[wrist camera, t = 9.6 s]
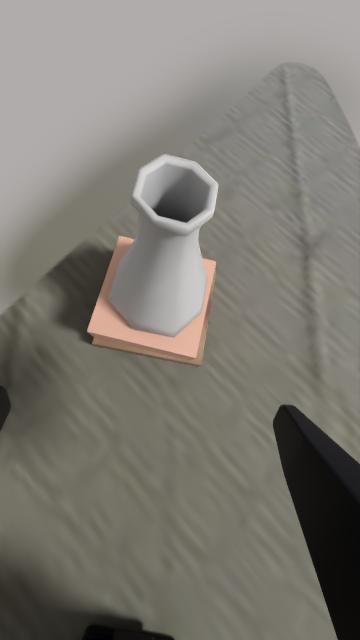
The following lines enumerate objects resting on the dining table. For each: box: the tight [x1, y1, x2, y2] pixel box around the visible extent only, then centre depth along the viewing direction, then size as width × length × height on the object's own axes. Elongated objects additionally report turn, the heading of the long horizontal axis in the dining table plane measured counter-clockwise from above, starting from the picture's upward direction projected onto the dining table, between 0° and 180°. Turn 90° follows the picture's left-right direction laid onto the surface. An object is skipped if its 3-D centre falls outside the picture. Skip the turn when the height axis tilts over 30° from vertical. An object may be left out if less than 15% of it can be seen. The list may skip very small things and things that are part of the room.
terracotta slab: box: [87, 236, 216, 361], centre depth 20 cm, size 8×8×2 cm
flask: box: [108, 153, 219, 338], centre depth 14 cm, size 7×7×10 cm
